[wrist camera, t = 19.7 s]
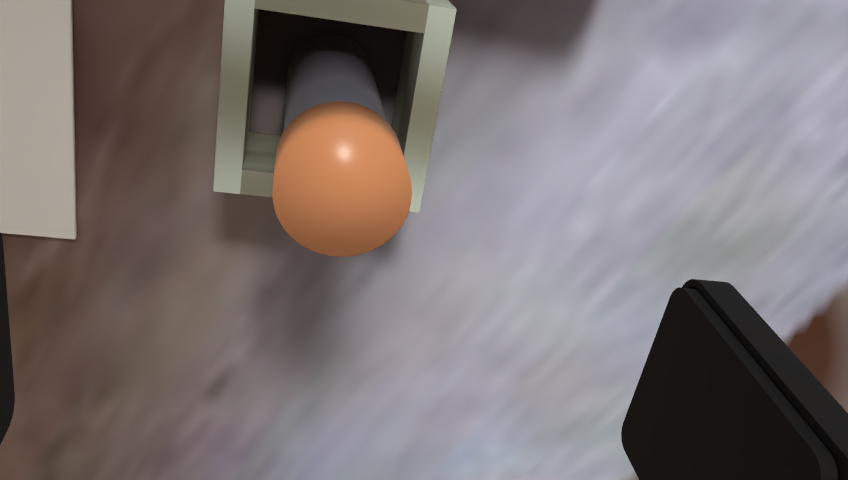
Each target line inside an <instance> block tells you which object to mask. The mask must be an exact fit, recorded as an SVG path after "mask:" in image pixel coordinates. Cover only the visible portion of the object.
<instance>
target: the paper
mask: <svg viewBox="0 0 848 480" xmlns="http://www.w3.org/2000/svg"><path fill="white" fill-rule="evenodd" d="M0 233H8V234H19V235H31V236H42V237H53V238H65V239H76V237H77V221H76V169H75V117H74V65H73V13H72V0H0Z"/></svg>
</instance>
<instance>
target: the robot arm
mask: <svg viewBox="0 0 848 480" xmlns="http://www.w3.org/2000/svg"><path fill="white" fill-rule="evenodd" d="M14 402H15V394H14V381H13V368H12V355H11V342H10V329H9V316H8V303H7V290H6V277H5V264H4V251H3V240H2V235H1V233H0V445H1V442H2V440H3V438H4V436H5V434H6V432H7V430H8V428H9V425H10V423H11V419H12V416H13V410H14ZM621 435H622V444H623V448H624V450H625V452H626V454H627V456H628V458H629V460H630V462H631V464H632V466H633V468H634V470H635V472H636V474H637V476H638V478H639V480H848V413H847V412H846V411H845V410H844V409H843V408H842V406H841V405H840V404H839V403H838V402H837V401H836V400H835V399H834V398H833V396H832V395H831V394H830V393H829V392H828V391H827V390H826V389H825V388H824V386H823V385H822V384H821V383H820V382H819V381H818V380H817V379H816V378H815V376H814V375H813V374H812V373H811V372H810V371H809V370H808V369H807V368H806V367H805V365H804V364H803V363H802V362H801V361H800V360H799V359H798V358H797V357H796V355H794V353H793V352H792V351H791V350H790V349H789V348H788V347H787V345H786V344H785V343H784V342H783V341H782V340H781V339H780V338H779V337H778V335H777V334H776V333H775V332H774V331H773V330H772V329H771V328H770V327H769V325H768V324H767V323H766V322H765V321H764V320H763V319H762V318H761V317H760V315H759V314H758V313H757V312H756V311H755V310H754V309H753V308H752V307H751V305H750V304H749V303H748V302H747V301H746V300H745V299H744V298H743V297H742V296H741V294H740V293H739V292H738V291H737V290H736V289H735V288H734V287H733V286H732V285H731V284H730V283H727V282H718V281H707V280H695V279H691V280H689V281H687V282H686V283H685V284H684V285H683V287H682V288H677V289H675V290H674V291H673V292H672V294H671V297H670V299H669V302H668V304H667V307H666V310H665V312H664V315H663V318H662V320H661V323H660V326H659V328H658V331H657V334H656V337H655V339H654V342H653V345H652V347H651V350H650V353H649V355H648V358H647V361H646V363H645V366H644V369H643V371H642V374H641V377H640V379H639V382H638V385H637V388H636V390H635V393H634V396H633V398H632V401H631V404H630V406H629V409H628V412H627V414H626V417H625V420H624V422H623V426H622V433H621Z"/></svg>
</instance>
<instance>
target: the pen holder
mask: <svg viewBox="0 0 848 480" xmlns="http://www.w3.org/2000/svg"><path fill="white" fill-rule="evenodd" d="M259 9H262V10H268V11H275V12H282V13H289V14H296V15H302V16H309V17H316V18H323V19H330V20H336V21H343V22H350V23H357V24H364V25H370V26H377V27H384V28H391V29H398V30H404V31H407V33H406V39H405V46H404V52H403V58H402V64H401V71H400V77H399V83H398V89H397V96H396V102H395V108H394V115H393V121H392V129H393V130H394V132H395V134H396V136H397V138H398V140H399V143H400V146H401V149H402V153H403V156H404V159H405V162H406V165H407V169H408V172H409V175H410V179H411V184H412V199H411V205H410V209H409V211H410V212H419V211H420V206H421V200H422V195H423V189H424V184H425V179H426V173H427V168H428V162H429V157H430V151H431V146H432V141H433V135H434V130H435V124H436V119H437V113H438V108H439V103H440V97H441V92H442V86H443V81H444V75H445V70H446V65H447V59H448V54H449V48H450V43H451V37H452V32H453V27H454V21H455V16H456V10H457V9H456V8H455V7H454V6H453V5H452V4H451V2H450V1H449V0H225V6H224V23H223V39H222V55H221V72H220V88H219V104H218V121H217V137H216V153H215V170H214V186H213V191H214V192H224V193H234V194H243V195H253V196H263V197H272V188H273V177H274V166H275V155H276V149H277V145H278V142H279V140H280V137H281V136H280V135H271V134H263V133H254V132H249V128H250V115H251V102H252V90H253V77H254V65H255V52H256V40H257V27H258V14H259Z"/></svg>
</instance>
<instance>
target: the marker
mask: <svg viewBox="0 0 848 480" xmlns="http://www.w3.org/2000/svg"><path fill="white" fill-rule="evenodd" d="M272 198H273V205H274V209H275V213H276V215H277V217H278V220H279V222H280V223H281V225H282V227H283V228H284V229H285V231H286V232H287V233H288V234H289V235H290V236H291V237H292V238H293V239H294V240H295V241H296V242H298V243H299V244H301V245H302V246H304V247H306V248H307V249H309V250H312V251H314V252H317V253H320V254H323V255H328V256H337V257H346V256H354V255H359V254H363V253H366V252H369V251H371V250H373V249H376V248H378V247H379V246H381V245H382V244H384V243H385V242H387V241H388V240H389V239H390V238H391V237H392V236H393V235H394V234H395V233H396V232H397V231H398V230H399V228H400V227H401V226H402V224H403V222H404V221H405V219H406V217H407V214H408V212H409V209H410V205H411V199H412V184H411V179H410V175H409V172H408V169H407V165H406V162H405V159H404V156H403V153H402V149H401V146H400V143H399V140H398V138H397V136H396V134H395V132H394V130H393V129H392V127H391V126H390V125H389V124H388V123H387V120H386V117H385V113H384V110H383V106H382V103H381V99H380V96H379V92H378V89H377V86H376V82H375V79H374V75H373V72H372V68H371V65H370V62H369V59H368V57H367V55H366V54H365V52H364V51H363V50H362V49H361V47H360V46H359V45H357V44H356V43H355V42H353V41H352V40H350V39H348V38H346V37H344V36H341V35H336V34H322V35H318V36H315V37H312V38H310V39H308V40H307V41H305V42H304V43H302V44H301V45H300V46H299V47H298V48H297V50H296V51H295V52H294V54H293V56H292V58H291V60H290V63H289V67H288V76H287V90H286V104H285V118H284V132H283V133H282V135H281V137H280V140H279V142H278V145H277V149H276V155H275V166H274V177H273V188H272Z"/></svg>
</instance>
